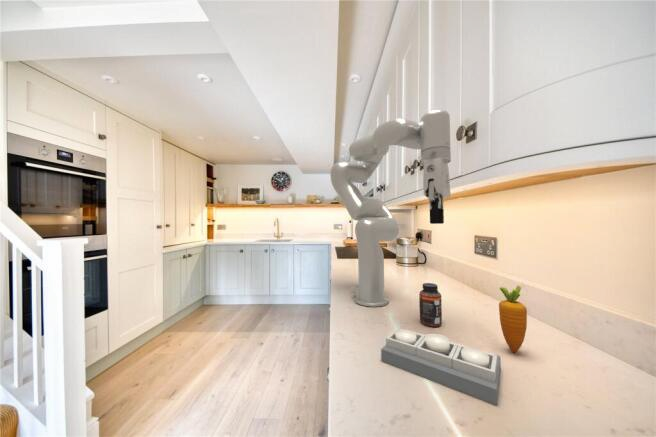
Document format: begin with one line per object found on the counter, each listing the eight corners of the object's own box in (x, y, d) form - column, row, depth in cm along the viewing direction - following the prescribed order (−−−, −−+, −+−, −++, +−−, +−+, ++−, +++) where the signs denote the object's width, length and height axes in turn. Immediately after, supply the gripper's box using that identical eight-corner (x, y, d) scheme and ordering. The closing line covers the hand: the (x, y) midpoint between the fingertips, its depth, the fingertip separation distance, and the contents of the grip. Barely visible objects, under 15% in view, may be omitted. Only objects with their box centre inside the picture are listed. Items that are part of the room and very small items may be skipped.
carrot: (498, 352, 52) (496, 285, 53) (502, 344, 56) (500, 281, 56) (527, 361, 49) (524, 289, 49) (529, 352, 53) (527, 285, 53)
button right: (459, 365, 43) (459, 354, 43) (463, 355, 47) (463, 345, 47) (488, 375, 40) (487, 363, 40) (490, 363, 44) (490, 352, 44)
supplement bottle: (444, 328, 65) (443, 287, 65) (421, 327, 66) (421, 286, 66) (438, 320, 71) (438, 282, 71) (418, 318, 72) (417, 281, 72)
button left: (392, 343, 51) (392, 334, 51) (400, 336, 55) (399, 327, 55) (412, 350, 49) (412, 340, 49) (419, 342, 52) (419, 332, 52)
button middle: (422, 349, 47) (422, 339, 47) (429, 341, 51) (429, 331, 51) (446, 357, 45) (446, 346, 45) (451, 347, 48) (451, 337, 48)
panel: (381, 360, 50) (381, 340, 50) (402, 338, 59) (402, 322, 59) (497, 405, 37) (496, 378, 37) (500, 368, 47) (500, 347, 47)
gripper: (443, 148, 57) (445, 223, 57) (455, 160, 69) (457, 223, 68) (412, 154, 62) (414, 223, 61) (429, 165, 73) (430, 223, 73)
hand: (436, 223), depth 65 cm, fingers closed
